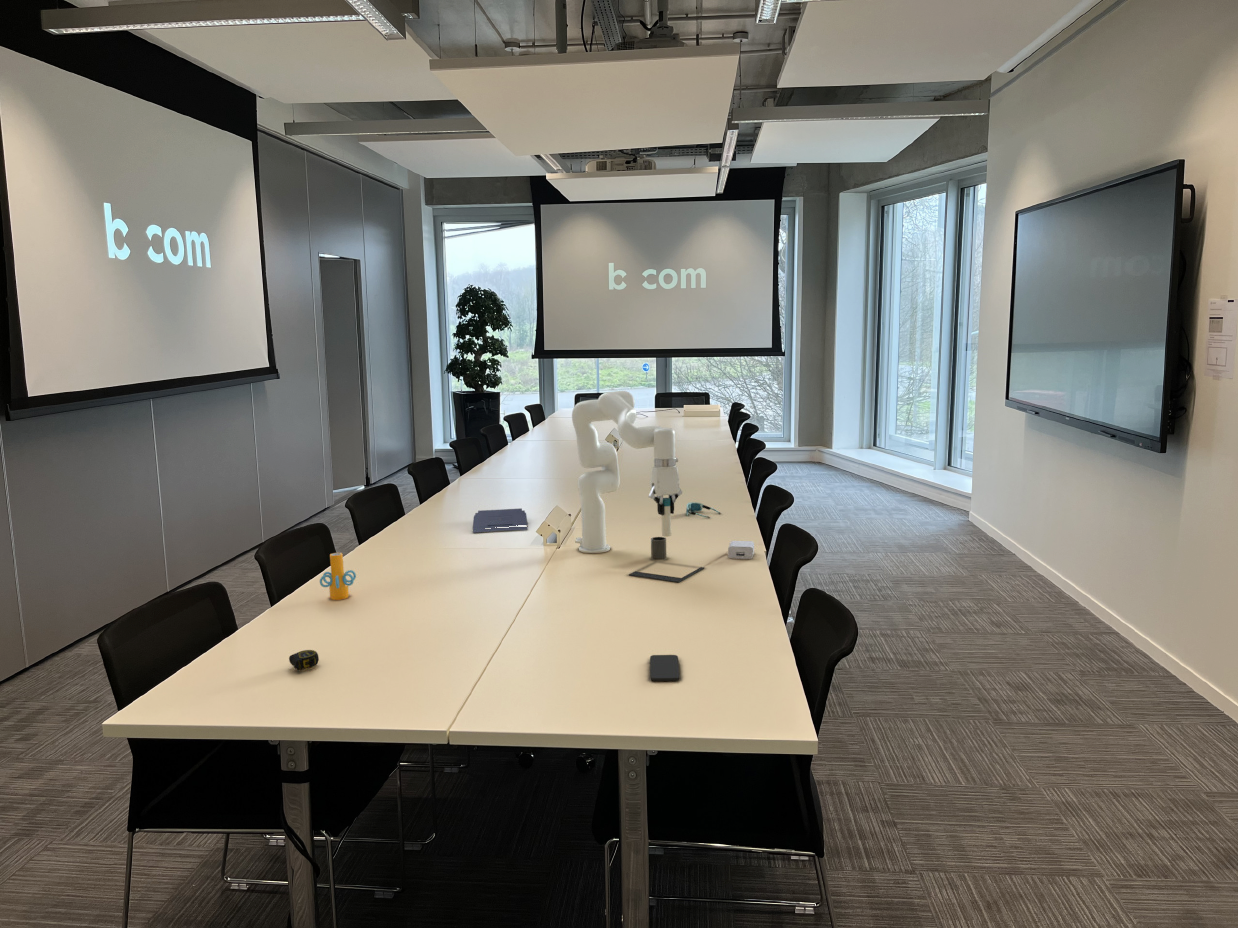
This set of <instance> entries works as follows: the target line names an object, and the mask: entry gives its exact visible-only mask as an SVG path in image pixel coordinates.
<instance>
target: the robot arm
mask: <svg viewBox="0 0 1238 928" xmlns="http://www.w3.org/2000/svg"><path fill="white" fill-rule="evenodd" d="M635 405H636V402H635V398H634V396H633V395H632V393H630V391H627V390H616V391H607V392H604V393H602V394H601V395H599V397H598V399H588V400H582V401H579V402H578V403H576V404H575V405H574V406H573V409H572V412H571V420H572V425H573V428H574V431H575V435H576V436H575V437H576V445H577V446H576V447H577V455H578V460H579V461H578V462H579V464H580V467H582V468H584V469H593V468H594V469H595V468H601V469H600V470H593V471H587V472H584V473H582V474H581V475H580V476H579V477H578V479H577V488H578V492H579V498H580V499H579V500H580V513H581V537H575V540H574V543H575V544H579V546H578V551H579V552H581V553H583V554H601V553H606V552H608V551H610V550H611V546H610V544H607V529H606V527H607V526H606V524H607V523H606V505H605V502H604V500H603V499H602V497H601V496H602V495H605V494H606V495H607V494H612V493H614V492H617V491H618V489H619V488H620V484H621V477H620V467H619V466H620V465H619V458H618V452H617V450H616V447H615V446H614V445H613V444H612V443H611V442H606V441H604V442H603V441H602V442H600V440H599V433H598V430H597V429H596V426H595V425H594V424H593V422H594V423H595V422H603V421H604V422H605V421H612V422H613V423H615V424H616V425H617V432H618V436H619V437H620V439H621V440H622V441H623V442H624V443H626V444H627V445H628V446H630V447H631V448H633V449H637V450H638V449H639V450H640V449H646V448H653V466H652V467H651V472H650V479H649V480H650V481H649V494H648V498H650V499H651V500H653V501H654V502H655V503H656V504H657V505H656V509H657V514H658V515H660V516H662V515H664V504H663V498H664V496H667V498H670V514H671V515H674V514H675V503H676V500H677V499H678V498H679V497H680V496H681V495H683V491H682V489H681V484H680V483H681V481H680V474H679V469H678V466H677V463H679V458H678V457H676V431H675V429H673V428H672V427H663V426H661V425H648V426H639V427H636V426H634V425H633V424H634V423H635V421H636V420H637V416H638V415H637V410H636V409H635Z"/></svg>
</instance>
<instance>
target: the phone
mask: <svg viewBox="0 0 1238 928" xmlns="http://www.w3.org/2000/svg"><path fill="white" fill-rule="evenodd" d="M649 671H650V672H649V673H650V674H649V678H650V680H651V681H652V682H677V681H680V679H681V678H680V677H681V676H680V674H681V673H680V664H679V656H678V655H677V654H652V655H651V656H650V657H649Z"/></svg>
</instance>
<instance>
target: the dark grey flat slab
mask: <svg viewBox="0 0 1238 928" xmlns="http://www.w3.org/2000/svg"><path fill="white" fill-rule="evenodd" d="M516 525H517V526H518V525H528V517H527V512H526V511H525V510H523V508H522V507H521V508H506V509H505V508H504V509H503V508H501V509H484V510H478V511H477V512H475V514H474V515H473V521H472V533H473V534H474V533H483V532H484V533H486V532H488V533H489V532H501V531H502V532H503V531H524V530H525V531H526V530H528V527H529V525H528V526H527V527H509V526H516ZM495 527H496V528H495ZM497 527H509V528H497ZM485 528H491V529H485Z"/></svg>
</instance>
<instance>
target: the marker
mask: <svg viewBox="0 0 1238 928" xmlns="http://www.w3.org/2000/svg"><path fill="white" fill-rule="evenodd" d="M663 504H664V515H661V537H665V538H666V537H671V536H672V521H671V517H672V516H671V515H672V514H671V513H670V498H668V497H663Z"/></svg>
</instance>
